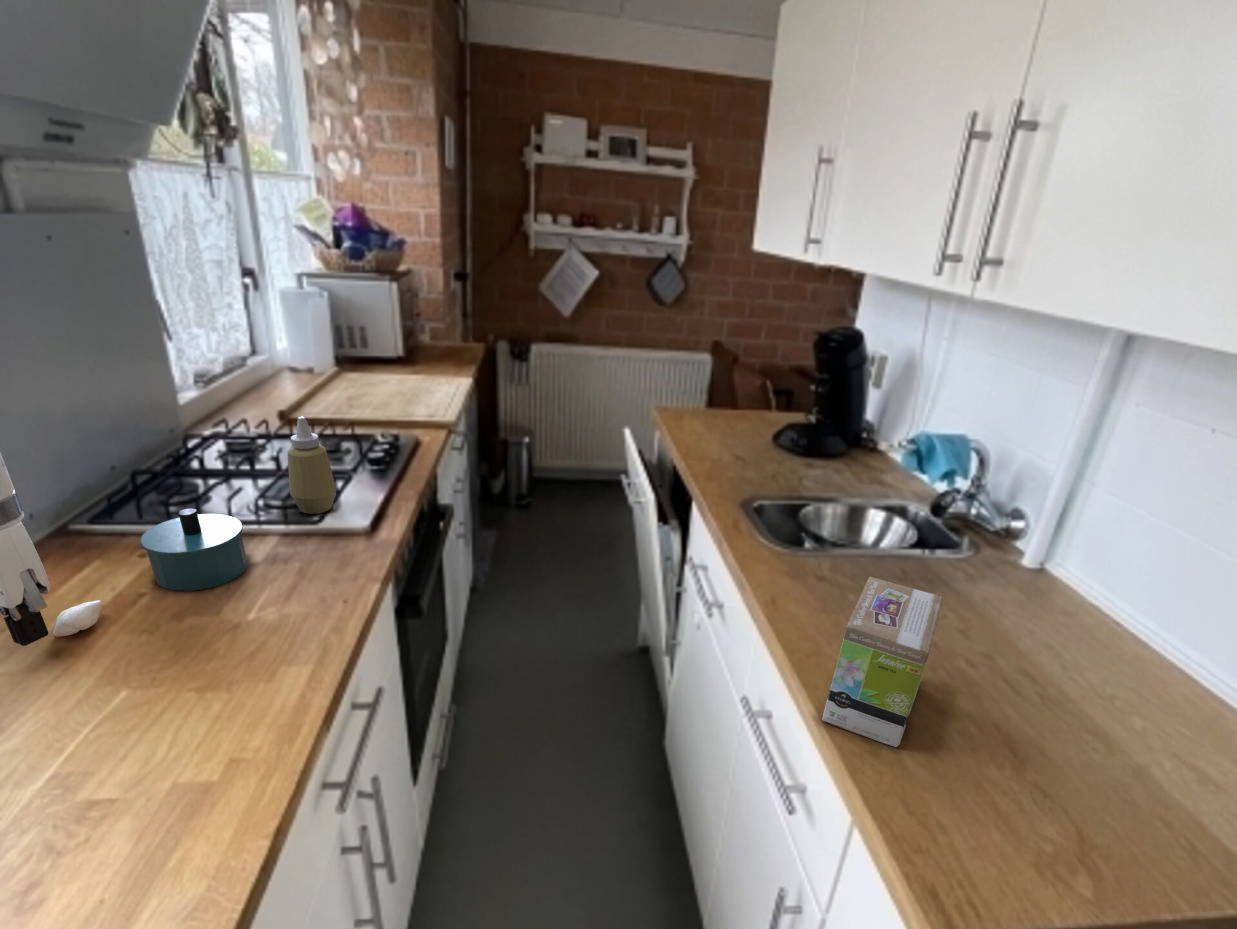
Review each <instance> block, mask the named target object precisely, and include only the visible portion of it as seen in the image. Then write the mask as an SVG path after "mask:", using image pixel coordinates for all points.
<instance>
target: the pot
mask: <svg viewBox="0 0 1237 929" xmlns="http://www.w3.org/2000/svg"><path fill="white" fill-rule="evenodd" d="M245 549H246V548H245V545H244V541H243V536H242V533H241V534H240V535H239V536H238V537H237V538H236V539H235V540H233V541H232V542H230V543H228V544H226V545H224V546H221V547H219V548H216V549H213V550H209V551H205V552H201V553H195V554H188V555H160V554H155V553H151V552H149V551H147V550H146V552H147V556H148V559H149V563H150V567H151V569H152V573H153V577H154V579H155V582H156V583H157V584H158V585H159V586H160V587H162V588H164V589H166V590H170V591H175V592H176V591H177V592H193V591H201V590H206V589H210V588H215V587H217V586H221V585H223V584H226V583H229V582H231V581H233V580H235V579H236V578H238V577H239V576H240V575H242V574H243V573H244V572H245V570H246V569H247V567H248V566H247V565H248V563H247V562H248V558H247V554H246V550H245Z"/></svg>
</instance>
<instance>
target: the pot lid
mask: <svg viewBox="0 0 1237 929" xmlns="http://www.w3.org/2000/svg"><path fill="white" fill-rule="evenodd" d="M242 532H243V524H242V522H241V521H240V520H239V519H237V518H236V517H233V516H230V515H228V514H227V515H226V514H220V513H219V514H218V513H200V514H199V513H198V511H197V509H196V508H185V509H182V510H180V511H178V517H176V518H173V519H172V518H171V519H169V520H166V521H163V522H161V523H158V524H156V525H153V526H152V527H150V528H149V529H147V530H146V531H145V532H143V534H142V535H141V537H140V545H141V547H142V548H143V549H144V550H145V551H146V552H147V551H149V552H151V553H155V554H160V555H188V554H195V553H201V552H205V551H209V550H213V549H216V548H219V547H221V546H224V545H226V544H228V543H230V542H232V541H233V540H235V539H236V538H237V537H238V536H239V535H240V534H241V535H242Z"/></svg>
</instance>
